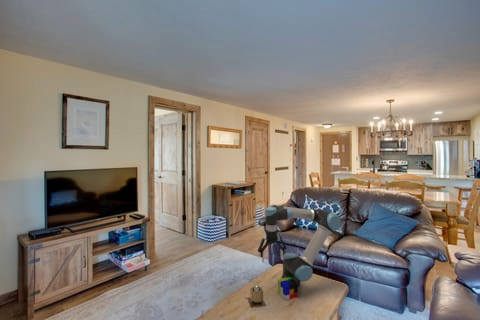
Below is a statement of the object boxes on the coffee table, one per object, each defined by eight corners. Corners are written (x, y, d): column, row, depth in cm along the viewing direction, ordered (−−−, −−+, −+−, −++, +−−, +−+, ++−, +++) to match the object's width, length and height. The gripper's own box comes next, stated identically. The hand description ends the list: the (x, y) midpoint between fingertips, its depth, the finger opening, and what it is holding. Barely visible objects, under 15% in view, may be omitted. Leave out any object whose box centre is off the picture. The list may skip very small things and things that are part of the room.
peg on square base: (247, 298, 172) (247, 282, 172) (261, 297, 174) (261, 280, 174) (251, 307, 163) (251, 290, 162) (265, 305, 164) (265, 288, 164)
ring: (249, 295, 171) (249, 287, 171) (260, 294, 173) (260, 285, 173) (252, 302, 164) (252, 293, 163) (264, 301, 165) (264, 292, 165)
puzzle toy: (285, 300, 171) (285, 286, 170) (277, 292, 180) (277, 279, 180) (297, 297, 174) (297, 283, 174) (289, 289, 184) (289, 276, 183)
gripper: (255, 233, 165) (256, 265, 166) (290, 230, 170) (291, 260, 170) (252, 230, 172) (253, 260, 173) (286, 226, 177) (287, 256, 178)
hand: (272, 260), depth 172 cm, fingers open, 13 cm apart
